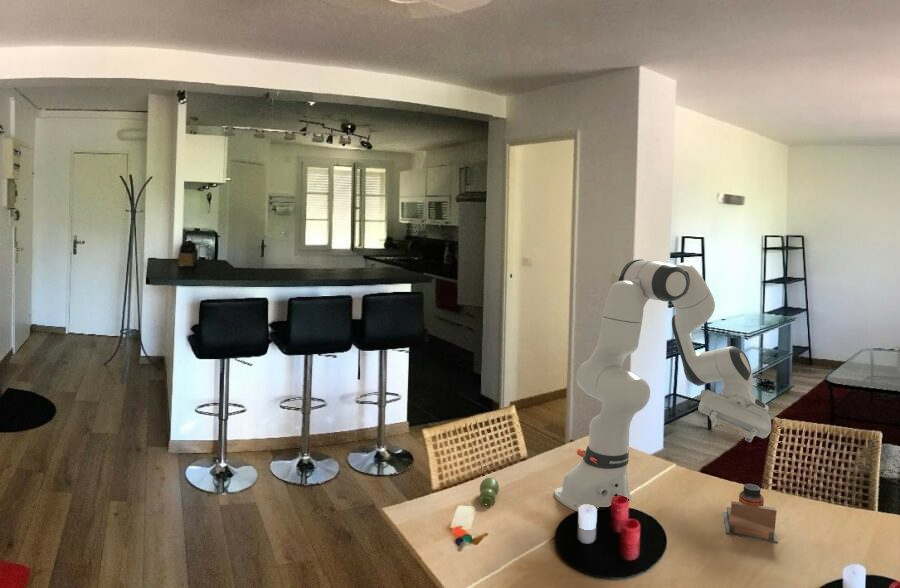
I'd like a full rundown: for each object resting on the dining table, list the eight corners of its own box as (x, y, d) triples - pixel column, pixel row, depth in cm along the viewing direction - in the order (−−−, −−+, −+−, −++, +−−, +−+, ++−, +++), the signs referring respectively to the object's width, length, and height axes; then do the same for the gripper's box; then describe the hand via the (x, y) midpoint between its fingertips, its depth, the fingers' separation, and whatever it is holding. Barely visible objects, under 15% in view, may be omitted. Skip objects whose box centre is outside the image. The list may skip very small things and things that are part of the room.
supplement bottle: (756, 521, 167) (759, 482, 166) (765, 533, 161) (769, 492, 160) (733, 520, 168) (736, 481, 166) (741, 531, 162) (745, 491, 160)
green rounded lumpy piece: (500, 475, 182) (496, 495, 172) (500, 490, 183) (495, 511, 174) (481, 473, 183) (476, 493, 173) (481, 488, 184) (476, 509, 175)
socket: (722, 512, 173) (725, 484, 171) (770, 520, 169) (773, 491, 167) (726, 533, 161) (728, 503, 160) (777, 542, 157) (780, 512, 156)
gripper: (705, 380, 188) (700, 410, 177) (774, 408, 183) (773, 441, 172) (697, 394, 192) (692, 424, 181) (764, 422, 187) (762, 454, 176)
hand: (732, 432), depth 177 cm, fingers open, 8 cm apart
